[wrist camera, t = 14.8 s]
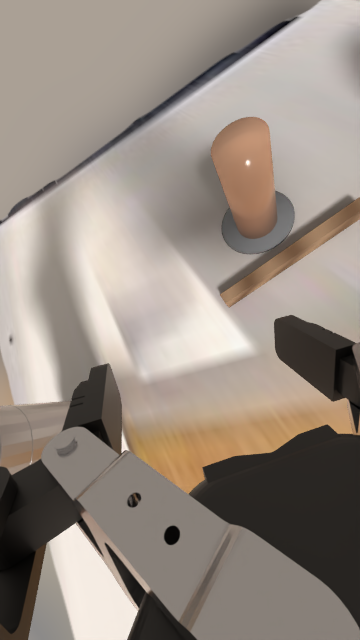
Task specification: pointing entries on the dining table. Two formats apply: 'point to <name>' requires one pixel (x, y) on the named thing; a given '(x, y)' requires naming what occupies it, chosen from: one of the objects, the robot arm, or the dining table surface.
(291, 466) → the robot arm
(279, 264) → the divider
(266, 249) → the coaster
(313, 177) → the dining table surface
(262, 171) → the peach cylinder
